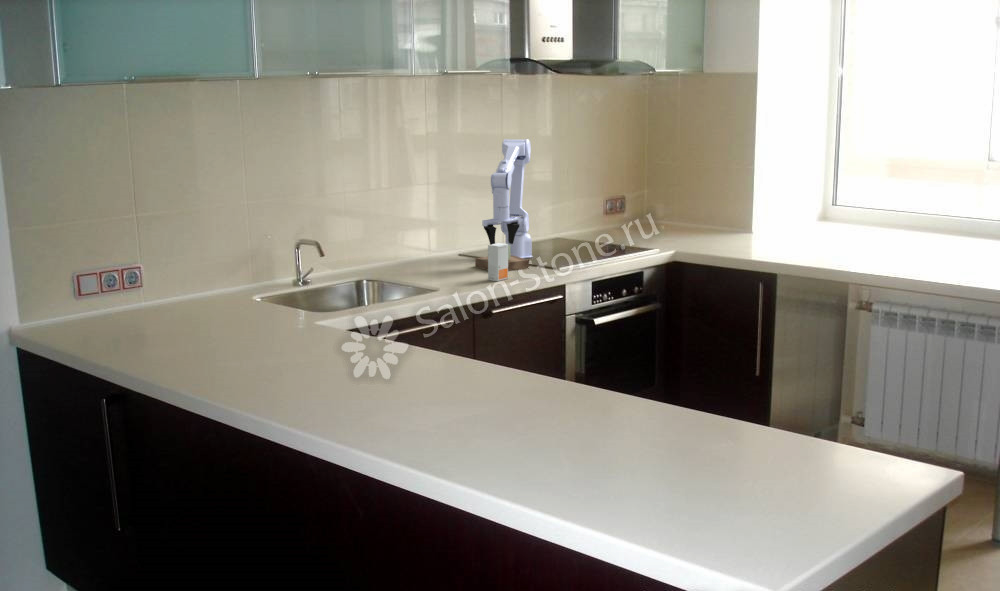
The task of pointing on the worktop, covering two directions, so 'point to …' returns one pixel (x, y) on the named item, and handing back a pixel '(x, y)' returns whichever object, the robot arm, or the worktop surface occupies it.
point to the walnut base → (513, 263)
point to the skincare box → (497, 261)
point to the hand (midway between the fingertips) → (501, 244)
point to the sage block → (509, 252)
